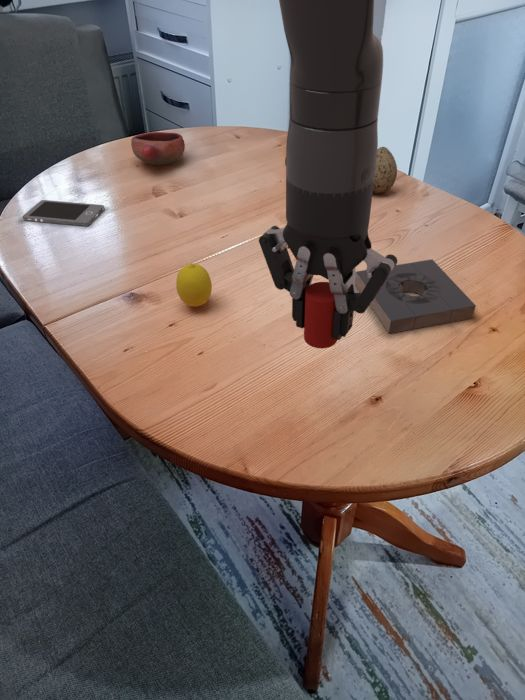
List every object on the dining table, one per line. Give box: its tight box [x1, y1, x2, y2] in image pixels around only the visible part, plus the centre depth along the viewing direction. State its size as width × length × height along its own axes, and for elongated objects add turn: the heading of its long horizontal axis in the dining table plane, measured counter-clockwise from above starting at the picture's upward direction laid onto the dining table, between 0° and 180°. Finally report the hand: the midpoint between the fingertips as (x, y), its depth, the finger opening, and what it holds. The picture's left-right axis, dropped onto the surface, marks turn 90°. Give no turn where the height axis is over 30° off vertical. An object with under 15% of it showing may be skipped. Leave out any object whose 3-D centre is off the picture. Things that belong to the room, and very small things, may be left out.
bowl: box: [130, 131, 186, 166], centre depth 129 cm, size 16×13×8 cm
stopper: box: [303, 281, 338, 349], centre depth 56 cm, size 4×4×6 cm
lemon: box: [175, 263, 213, 308], centre depth 85 cm, size 6×6×8 cm
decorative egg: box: [372, 146, 398, 195], centre depth 115 cm, size 7×7×10 cm
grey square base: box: [355, 258, 477, 335], centre depth 87 cm, size 14×14×2 cm
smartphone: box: [21, 199, 105, 227], centre depth 113 cm, size 15×8×1 cm, turn 77°
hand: (321, 328), depth 57 cm, fingers closed on stopper, 3 cm apart
